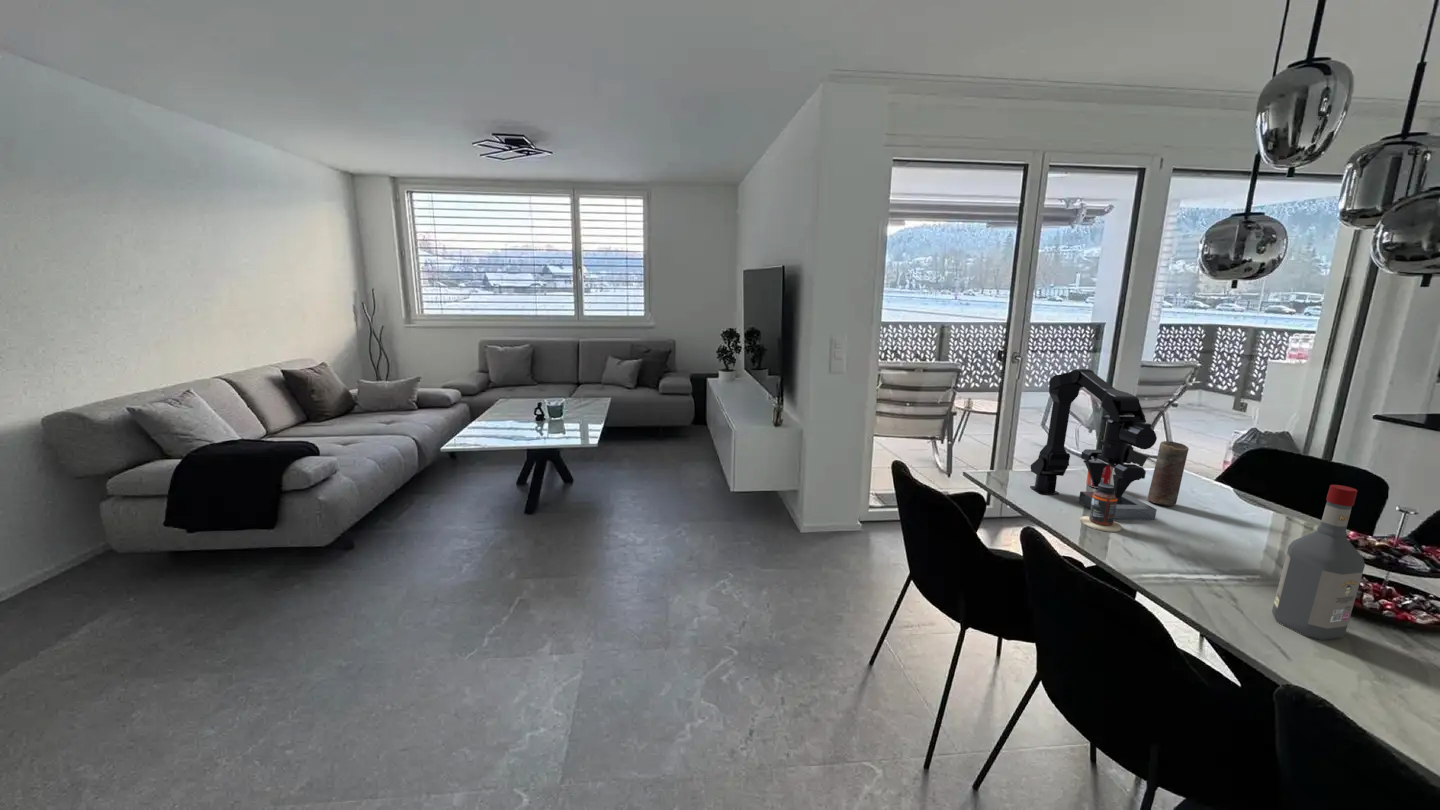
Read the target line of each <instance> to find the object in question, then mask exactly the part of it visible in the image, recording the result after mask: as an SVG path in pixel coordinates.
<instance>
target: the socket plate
mask: <svg viewBox="0 0 1440 810" xmlns="http://www.w3.org/2000/svg"><path fill="white" fill-rule="evenodd" d="M1093 492H1094V491H1080V492H1079V497H1078V503H1080V504H1082V505H1083V506H1084V507H1087V508H1088V509H1090V510H1091V504H1092V497H1093ZM1114 493H1115V491H1114ZM1156 515H1157V508H1154V507H1153V506H1151V505H1149V504H1147V503H1145V502H1144V501H1141V500H1139V499H1137V498H1135V497H1134V496H1132V495H1129V494H1128V493H1126V492H1124V493H1123V495H1122V496H1121V498H1117V505H1116V511H1115V517H1114V521H1115V520H1117V521H1119V520H1121V521H1155V520H1156Z"/></svg>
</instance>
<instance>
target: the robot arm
mask: <svg viewBox="0 0 1440 810" xmlns="http://www.w3.org/2000/svg"><path fill="white" fill-rule="evenodd" d="M1083 388H1084V389H1085V390H1087V391H1088V392H1089V393H1090V394H1092V395H1093V396H1095V398H1097V400H1099V401H1100V406H1101V408H1102V409H1103V410H1104V411H1105V412H1106V415H1104V416H1102V417H1101V420H1103V421H1105V422H1106V425H1105V430H1104V435H1103V440H1102V439H1100V440H1099V445H1101V446H1102V447H1101V449H1087V448H1086V449H1084V450H1083V451H1082V452H1081V455H1080V458H1081V459H1082V460H1083V463H1084V464H1085V466H1086V469H1087V471H1089V474H1090V476H1091V479H1092V482H1093V484H1094V486H1095V487H1098V485H1099V484H1100V480H1101V477H1102V473H1103V469H1104V468H1105V467H1106V466H1107V465H1109V466H1111V467H1113V472H1114V474H1112V478H1113V479H1112V480H1113V486H1114V490H1115V491H1114V492H1115V497H1116V498H1121V496H1122V495H1123V493H1126V492H1125V491H1127V489H1128V488H1129V486H1130V485H1131V483H1133V482H1135V481H1140V480H1145V478H1146V474H1147V473H1146V472H1147V471H1146V469H1145V468H1144V465H1145V463H1146V462H1147V460H1148V457H1149V456H1146V455H1145V454H1144V455H1143V454H1141V453H1139V452H1136V451H1134V448H1135V447H1136V448H1138V449H1141V450H1149V449H1151V448H1152V447H1154V445H1155V444H1156V442H1157V439H1158V436H1157V434H1156V431H1155V430H1154V429H1152V426H1153V425H1152V424H1151V423H1148V422H1147V421H1146V416H1145V415H1146V414H1145V413H1144V411H1143V408H1142V406H1141V403H1140V399H1139V398H1138V397H1137V396H1136V395H1133V394H1132V393H1129V392H1125V391H1123V390H1119V389H1116V388H1115V387H1113V386H1112V385H1111V384H1109V383H1108V382H1106V381H1105V379H1103V378H1101V377H1100V376H1099V375H1098V374H1095V371H1094V370H1092V369H1090V368H1076V369H1073V370H1071V371H1068V372H1064V373H1061V374H1060V373H1059V374H1055V375H1053V376H1052V377H1050V379H1049V382H1048V394H1049V395H1050V398H1051V400H1052V407H1051V408H1052V409H1051V414H1050V420H1049V428H1048V433H1047V440H1046V444H1045V445H1044V446H1043V447H1042V449H1040V451H1039V453H1038V458H1037V459H1036V460H1035V461H1034V462H1032V464H1030V472H1032V473H1034V474H1035V475H1036V476H1035V482H1034V485H1030V487H1029V488H1030V489H1032V490H1033V491H1035V492H1036V493H1038V494H1039V495H1060V492H1058V491H1057V490H1056V488H1057V481H1058V480H1057V478H1058V477H1057V476H1061V477H1064V475H1065V474H1066V471H1067V469H1068V467H1069V466H1070V458H1071V454H1070V453H1069V452H1067V450H1066V447H1065V443H1066V437H1067V430H1068V424H1069V418H1070V411H1071V406H1072V403H1073V402H1074V401H1075V400H1076V399H1077V398H1078V396H1079V394H1080V390H1081V389H1083ZM1131 463H1132V464H1131Z"/></svg>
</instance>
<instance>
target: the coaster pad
mask: <svg viewBox="0 0 1440 810" xmlns="http://www.w3.org/2000/svg"><path fill="white" fill-rule="evenodd" d="M1089 517H1090V515H1083V516H1081V517H1080V519H1079V520H1080V521H1079V522H1080V523H1081V524H1082V525H1084V526H1086V527H1089V528H1091V529H1094V530H1096V531H1101V532H1108V533H1117V532H1118V533H1119V532H1120V531H1121V530H1122V527H1123V526H1122V525H1121V524H1120V523H1118V522H1117V521H1115V520H1114V523H1113V525H1110V526H1103V525H1098V524H1095V523H1093V522H1091V521H1090V519H1089Z"/></svg>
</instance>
